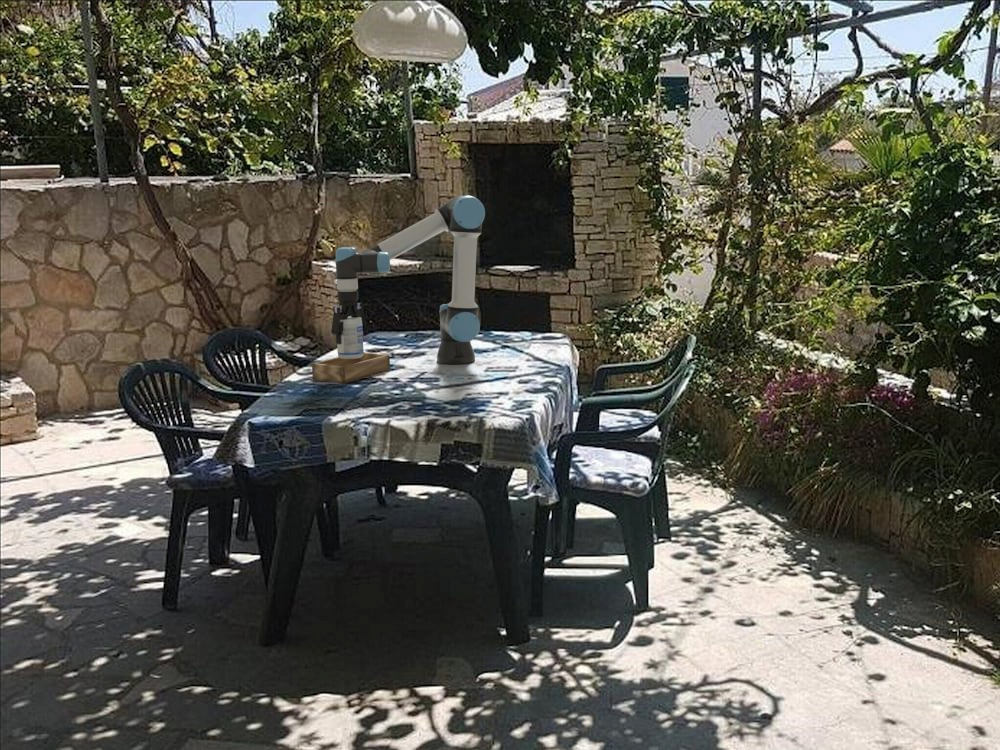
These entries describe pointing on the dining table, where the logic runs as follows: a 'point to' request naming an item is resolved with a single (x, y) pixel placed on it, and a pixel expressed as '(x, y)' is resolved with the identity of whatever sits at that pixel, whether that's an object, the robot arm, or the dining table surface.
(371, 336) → the dining table surface
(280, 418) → the dining table surface
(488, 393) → the dining table surface
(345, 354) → the supplement tub
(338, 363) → the walled box
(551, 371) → the dining table surface
